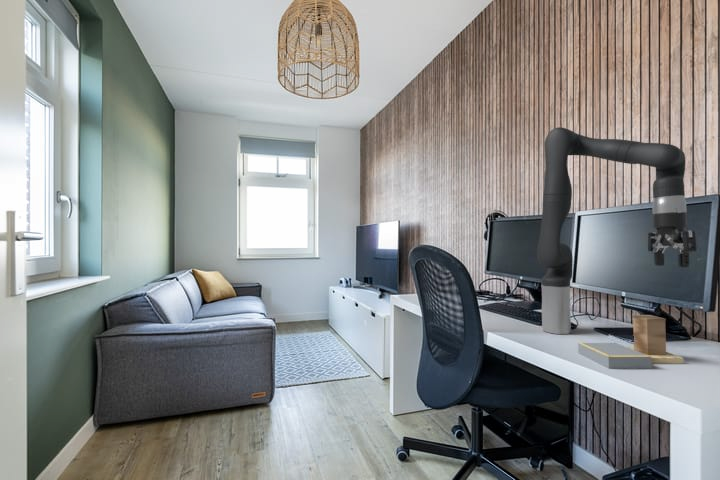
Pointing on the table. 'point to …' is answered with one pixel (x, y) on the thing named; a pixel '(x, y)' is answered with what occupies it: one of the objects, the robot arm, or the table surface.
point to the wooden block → (649, 334)
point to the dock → (614, 355)
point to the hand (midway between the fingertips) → (671, 266)
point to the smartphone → (622, 340)
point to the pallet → (664, 358)
